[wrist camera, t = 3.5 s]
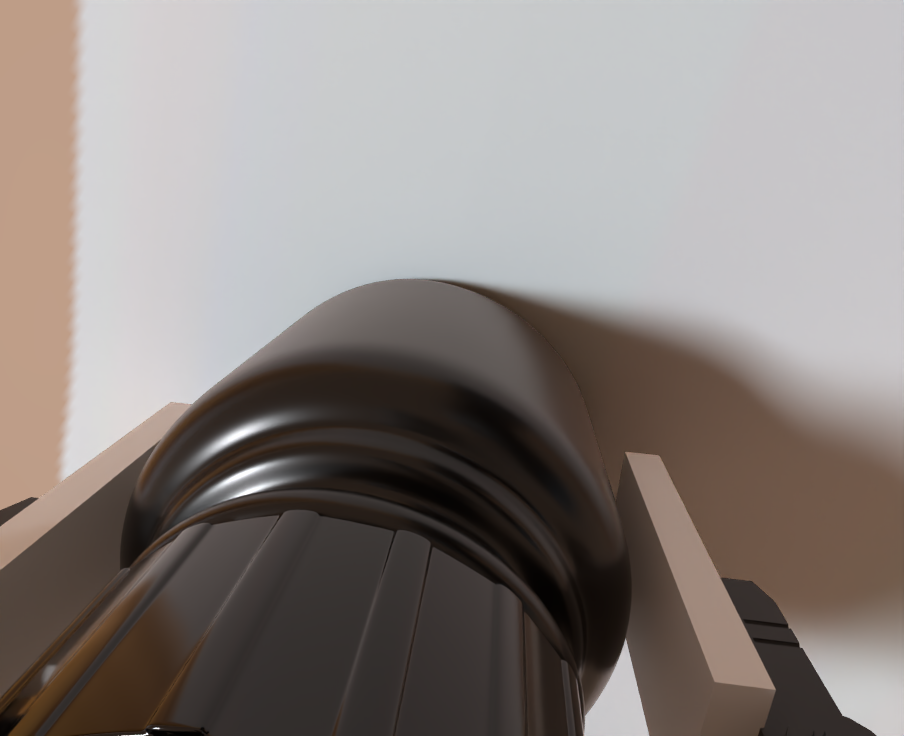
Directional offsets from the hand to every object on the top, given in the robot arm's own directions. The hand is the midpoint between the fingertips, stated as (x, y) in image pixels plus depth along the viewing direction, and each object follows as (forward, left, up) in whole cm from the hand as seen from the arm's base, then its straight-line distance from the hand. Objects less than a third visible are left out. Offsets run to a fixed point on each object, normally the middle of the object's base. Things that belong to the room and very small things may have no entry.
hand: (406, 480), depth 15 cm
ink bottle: (0, 0, -2) cm, 2 cm away
